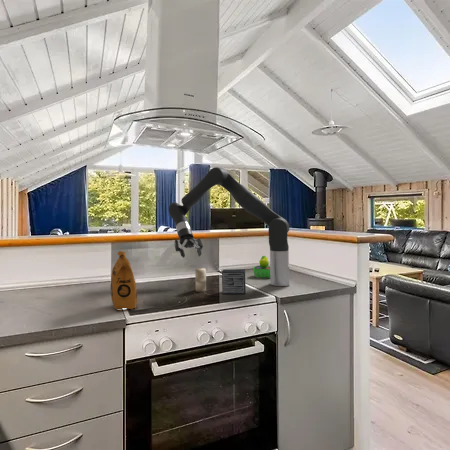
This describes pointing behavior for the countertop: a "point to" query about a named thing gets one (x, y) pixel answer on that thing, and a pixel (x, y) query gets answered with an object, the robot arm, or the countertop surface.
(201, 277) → the birch cylinder
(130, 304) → the coffee package
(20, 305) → the countertop surface
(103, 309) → the countertop surface
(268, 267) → the fruit basket
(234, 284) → the small box
